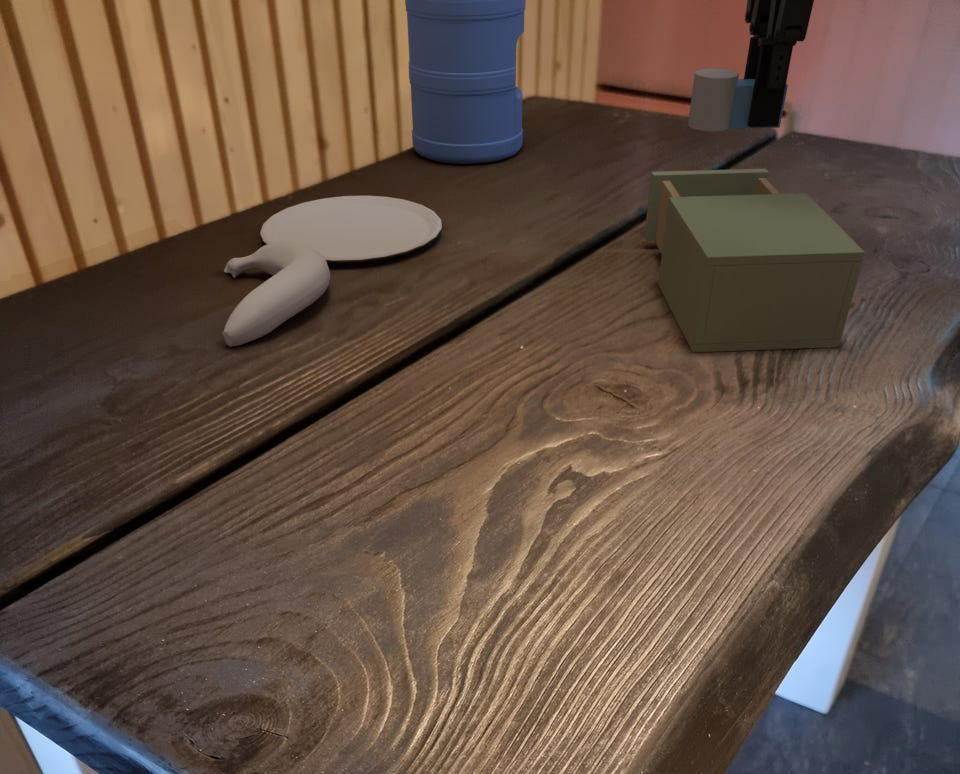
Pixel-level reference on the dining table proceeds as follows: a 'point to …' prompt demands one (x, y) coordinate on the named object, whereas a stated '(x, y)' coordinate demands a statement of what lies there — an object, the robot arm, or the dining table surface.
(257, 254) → the banana
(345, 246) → the plate
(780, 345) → the cabinet
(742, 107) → the cylinder with blue block
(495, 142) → the water jug
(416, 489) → the dining table surface
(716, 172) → the drawer
